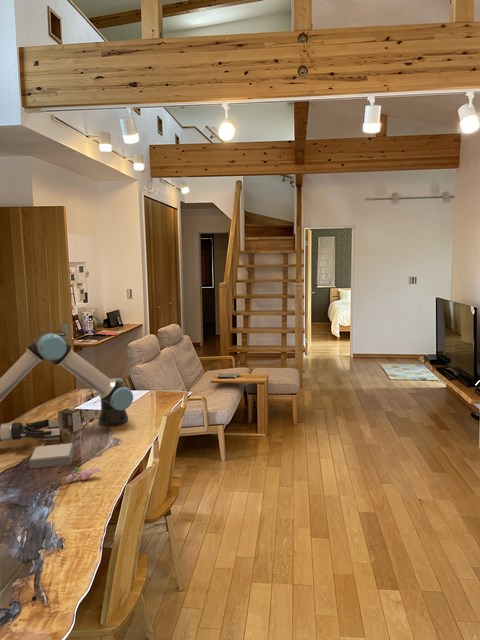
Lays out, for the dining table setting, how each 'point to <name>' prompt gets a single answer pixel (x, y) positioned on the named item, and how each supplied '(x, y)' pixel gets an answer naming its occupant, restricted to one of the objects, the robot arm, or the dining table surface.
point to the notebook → (52, 435)
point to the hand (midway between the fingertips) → (61, 426)
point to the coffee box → (70, 426)
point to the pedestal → (51, 456)
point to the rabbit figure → (83, 475)
